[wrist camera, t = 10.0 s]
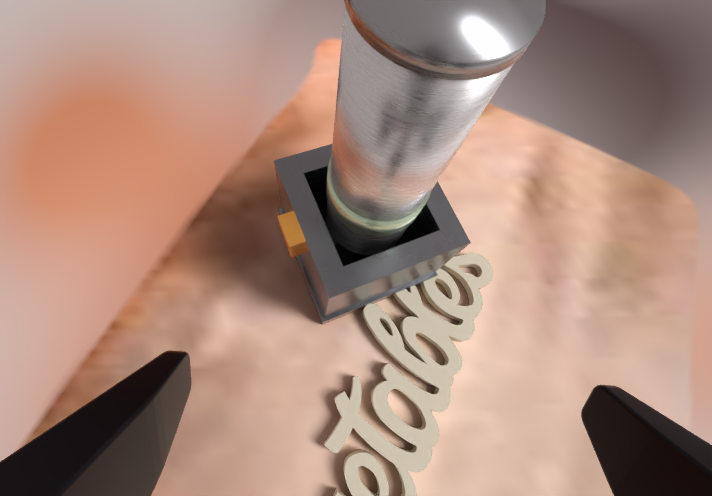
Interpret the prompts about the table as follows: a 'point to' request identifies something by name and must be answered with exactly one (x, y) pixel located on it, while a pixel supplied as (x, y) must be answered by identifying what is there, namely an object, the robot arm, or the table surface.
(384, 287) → the stand collar
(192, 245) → the table surface
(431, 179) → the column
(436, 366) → the decorative sign
